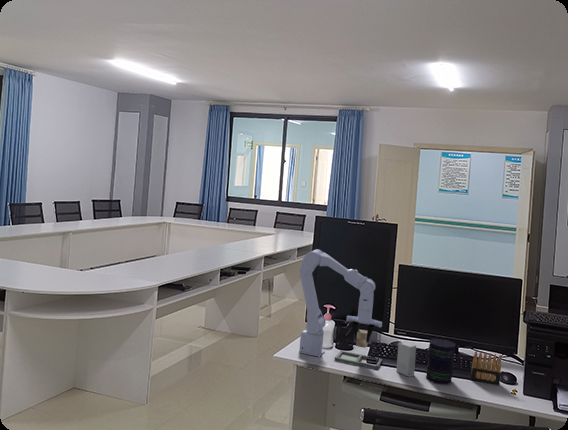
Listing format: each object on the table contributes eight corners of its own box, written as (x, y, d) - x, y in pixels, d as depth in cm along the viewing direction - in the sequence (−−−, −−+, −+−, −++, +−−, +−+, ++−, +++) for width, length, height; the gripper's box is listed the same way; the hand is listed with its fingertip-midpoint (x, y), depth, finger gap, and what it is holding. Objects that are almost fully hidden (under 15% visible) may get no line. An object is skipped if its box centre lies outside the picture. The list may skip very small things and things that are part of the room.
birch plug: (355, 346, 215) (357, 332, 215) (358, 343, 219) (359, 329, 218) (365, 348, 214) (366, 333, 213) (367, 345, 217) (368, 331, 217)
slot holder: (334, 360, 216) (334, 357, 216) (340, 353, 225) (341, 350, 225) (377, 369, 209) (377, 366, 209) (382, 361, 219) (382, 358, 219)
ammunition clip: (470, 380, 206) (473, 350, 205) (470, 378, 208) (473, 349, 207) (499, 385, 203) (502, 355, 202) (499, 383, 205) (502, 354, 203)
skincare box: (414, 375, 207) (417, 345, 205) (407, 377, 204) (410, 347, 203) (402, 369, 211) (405, 340, 210) (395, 371, 208) (398, 342, 207)
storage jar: (451, 386, 198) (455, 348, 196) (424, 381, 201) (428, 344, 199) (451, 377, 207) (455, 341, 206) (426, 372, 210) (430, 336, 209)
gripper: (384, 309, 216) (381, 341, 217) (350, 303, 221) (347, 334, 222) (381, 313, 210) (378, 346, 211) (346, 307, 215) (343, 339, 216)
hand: (362, 340), depth 216 cm, fingers closed on birch plug, 4 cm apart
